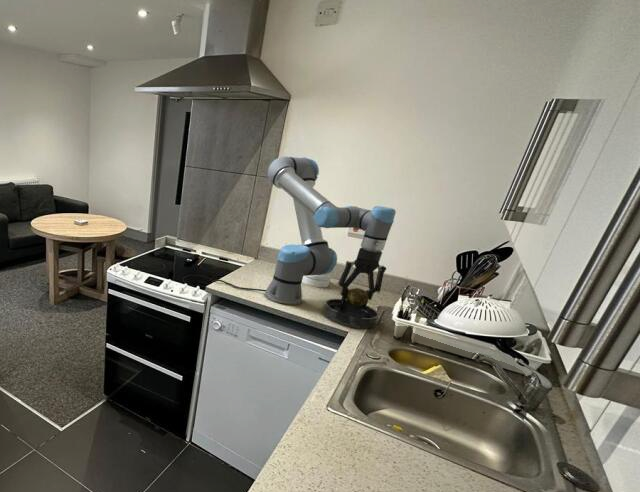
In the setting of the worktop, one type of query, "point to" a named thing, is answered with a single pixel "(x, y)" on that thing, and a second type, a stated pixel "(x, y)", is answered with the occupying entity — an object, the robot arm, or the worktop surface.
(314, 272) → the robot arm
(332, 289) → the worktop surface
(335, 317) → the pan
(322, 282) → the honey pot
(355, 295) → the potato
